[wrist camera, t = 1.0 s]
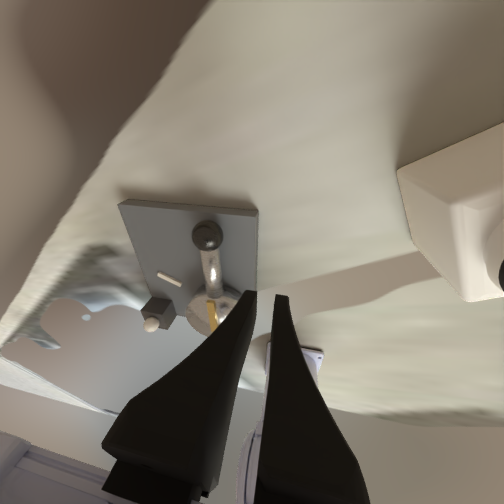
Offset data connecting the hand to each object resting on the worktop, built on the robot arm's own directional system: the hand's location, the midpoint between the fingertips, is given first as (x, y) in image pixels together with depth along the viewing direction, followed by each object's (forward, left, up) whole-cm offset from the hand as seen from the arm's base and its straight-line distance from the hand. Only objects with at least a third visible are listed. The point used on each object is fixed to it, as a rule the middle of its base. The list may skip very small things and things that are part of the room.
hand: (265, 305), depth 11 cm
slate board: (-6, +9, -10) cm, 15 cm away
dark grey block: (-13, +15, -8) cm, 21 cm away
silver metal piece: (-6, +6, -8) cm, 12 cm away
